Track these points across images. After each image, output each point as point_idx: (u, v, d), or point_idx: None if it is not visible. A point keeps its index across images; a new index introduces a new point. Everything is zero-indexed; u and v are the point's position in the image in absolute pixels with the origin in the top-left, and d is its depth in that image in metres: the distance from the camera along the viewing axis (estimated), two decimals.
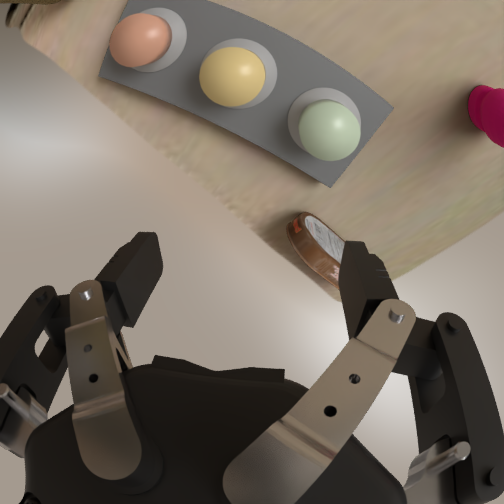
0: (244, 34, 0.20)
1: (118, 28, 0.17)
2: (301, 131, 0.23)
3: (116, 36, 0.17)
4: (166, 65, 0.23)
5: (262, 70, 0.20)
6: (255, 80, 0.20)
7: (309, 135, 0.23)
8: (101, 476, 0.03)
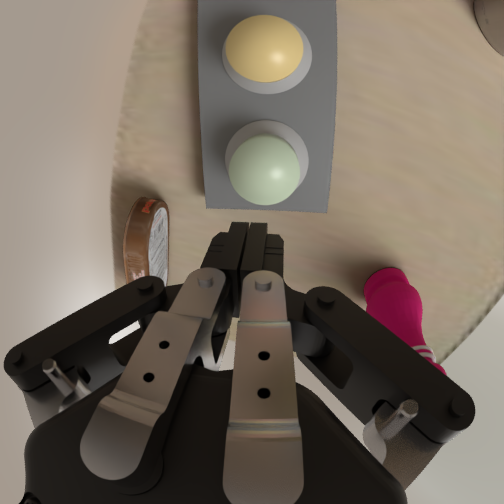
0: (314, 41, 0.18)
1: None
2: (246, 144, 0.20)
3: None
4: None
5: (288, 72, 0.17)
6: (273, 71, 0.17)
7: (247, 154, 0.21)
8: (101, 476, 0.03)
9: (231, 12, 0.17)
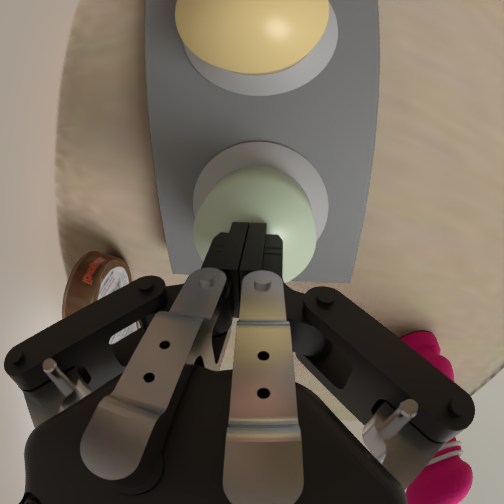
0: (341, 8, 0.09)
1: None
2: (220, 193, 0.12)
3: None
4: None
5: (300, 53, 0.08)
6: (269, 51, 0.08)
7: (223, 210, 0.12)
8: (101, 476, 0.03)
9: None
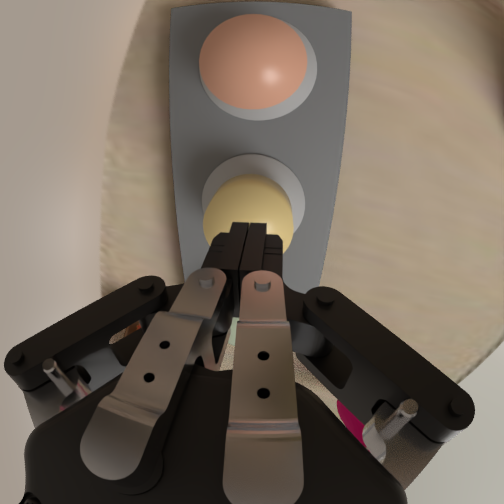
0: (309, 190, 0.19)
1: (267, 22, 0.10)
2: None
3: (249, 23, 0.11)
4: (223, 106, 0.17)
5: None
6: None
7: None
8: (101, 476, 0.03)
9: (211, 145, 0.18)
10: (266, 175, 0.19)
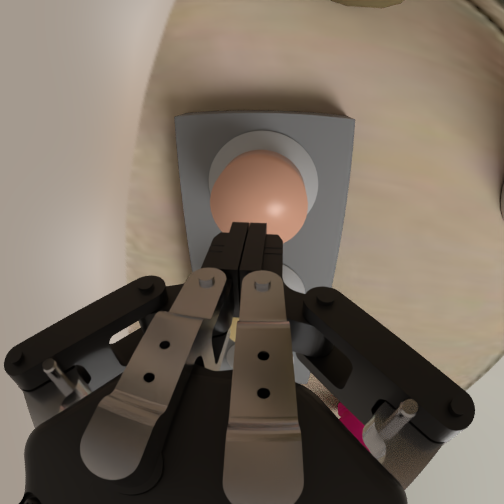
0: (309, 284, 0.23)
1: (271, 168, 0.15)
2: None
3: (254, 170, 0.15)
4: None
5: None
6: None
7: None
8: (101, 476, 0.03)
9: None
10: None
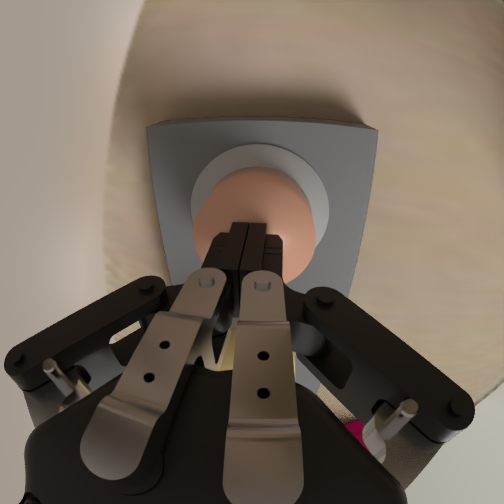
0: None
1: (269, 195, 0.11)
2: None
3: (248, 196, 0.12)
4: None
5: None
6: None
7: None
8: (101, 476, 0.03)
9: None
10: None
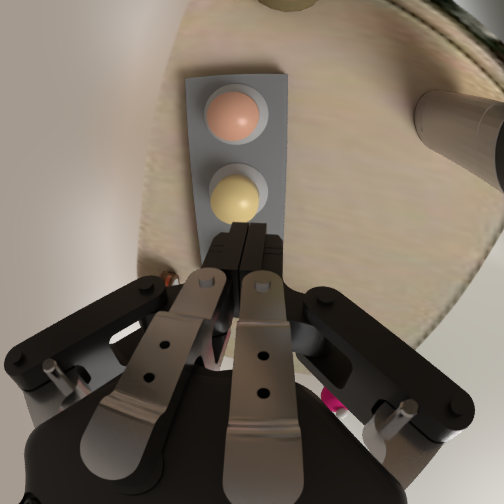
0: (270, 181, 0.34)
1: (238, 96, 0.26)
2: None
3: (229, 97, 0.26)
4: (218, 138, 0.32)
5: (249, 219, 0.33)
6: (240, 218, 0.33)
7: None
8: (101, 476, 0.03)
9: (213, 159, 0.33)
10: (244, 174, 0.34)
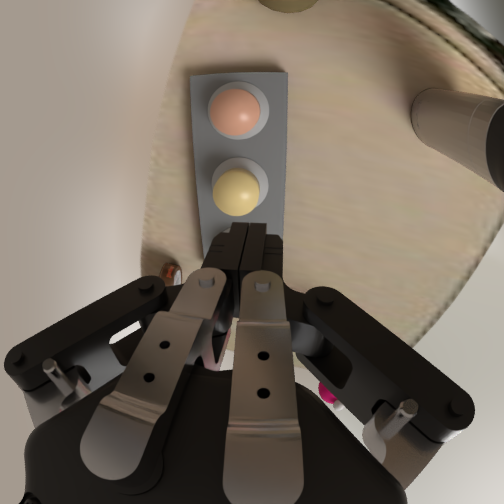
0: (270, 175, 0.36)
1: (240, 93, 0.27)
2: None
3: (232, 94, 0.28)
4: (221, 133, 0.33)
5: (250, 210, 0.34)
6: (241, 210, 0.34)
7: None
8: (101, 476, 0.03)
9: (216, 153, 0.35)
10: (245, 168, 0.35)
